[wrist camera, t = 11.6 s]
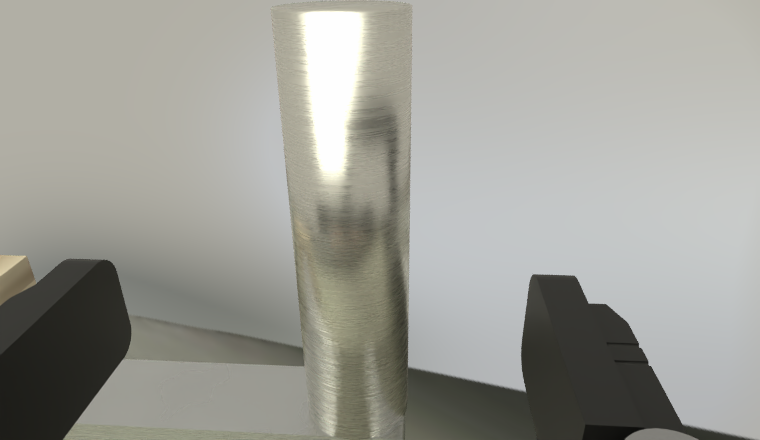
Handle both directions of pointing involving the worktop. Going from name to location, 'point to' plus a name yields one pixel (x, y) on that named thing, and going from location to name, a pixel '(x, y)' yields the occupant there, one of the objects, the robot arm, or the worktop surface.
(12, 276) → the bearing block
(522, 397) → the worktop surface
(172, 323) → the worktop surface
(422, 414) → the worktop surface
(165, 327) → the worktop surface
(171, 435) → the crank handle
